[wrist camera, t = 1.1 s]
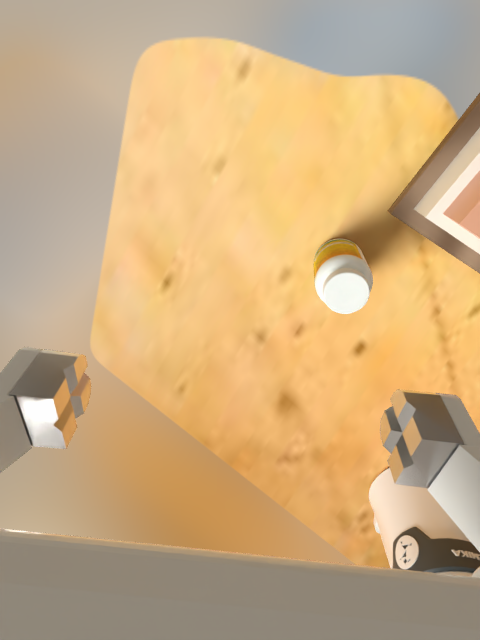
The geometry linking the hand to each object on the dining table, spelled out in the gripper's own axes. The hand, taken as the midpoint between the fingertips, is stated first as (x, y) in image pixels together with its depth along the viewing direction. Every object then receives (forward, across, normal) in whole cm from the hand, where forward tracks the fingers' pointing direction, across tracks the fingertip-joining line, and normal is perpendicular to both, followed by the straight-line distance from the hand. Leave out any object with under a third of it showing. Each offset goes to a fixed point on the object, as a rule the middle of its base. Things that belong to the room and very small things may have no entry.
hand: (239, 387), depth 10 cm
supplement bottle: (+32, +10, -11) cm, 35 cm away
